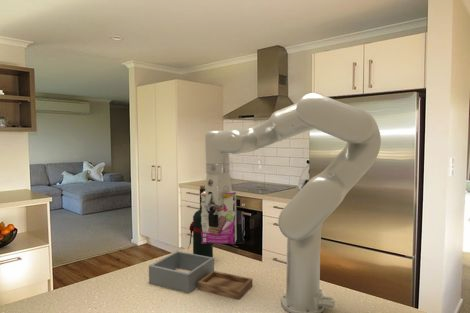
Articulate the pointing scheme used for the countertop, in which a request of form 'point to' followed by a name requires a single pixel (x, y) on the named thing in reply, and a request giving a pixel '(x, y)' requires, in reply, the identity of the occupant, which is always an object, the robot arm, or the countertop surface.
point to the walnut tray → (225, 284)
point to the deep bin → (177, 280)
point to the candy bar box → (220, 221)
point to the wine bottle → (199, 234)
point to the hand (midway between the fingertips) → (219, 223)
